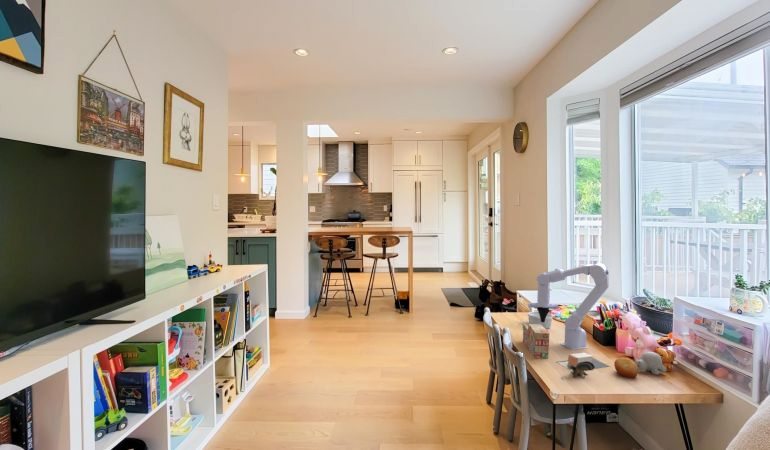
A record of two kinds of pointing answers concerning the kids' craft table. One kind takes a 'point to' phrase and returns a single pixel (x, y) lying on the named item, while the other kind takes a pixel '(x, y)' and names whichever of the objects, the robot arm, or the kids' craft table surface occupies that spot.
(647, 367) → the toy rhinoceros
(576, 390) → the kids' craft table surface
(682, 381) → the kids' craft table surface
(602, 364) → the mat
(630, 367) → the fruit
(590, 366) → the squirrel figurine
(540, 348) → the stack of blocks
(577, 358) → the tall block
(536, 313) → the ramekin
